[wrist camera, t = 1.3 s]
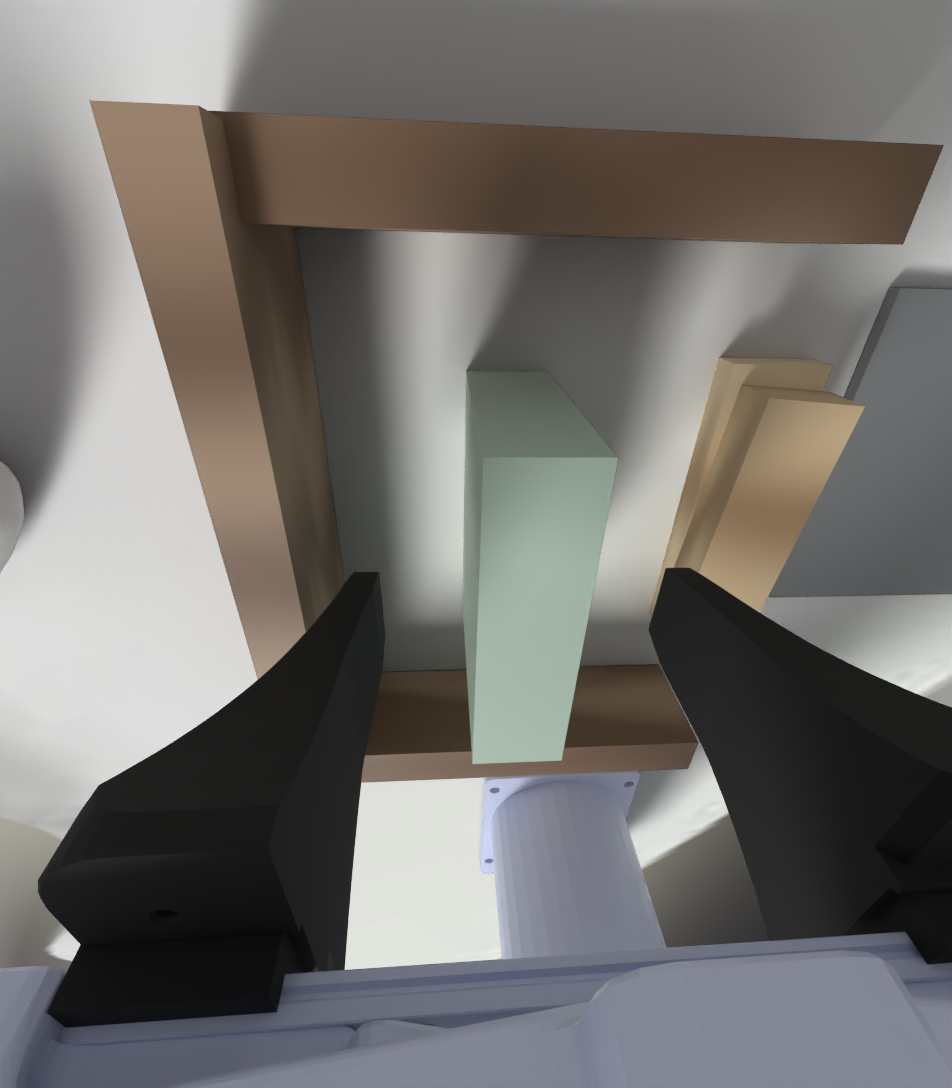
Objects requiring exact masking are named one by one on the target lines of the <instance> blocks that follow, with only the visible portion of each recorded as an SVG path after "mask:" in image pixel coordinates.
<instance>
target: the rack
mask: <svg viewBox="0 0 952 1088" xmlns="http://www.w3.org/2000/svg"><path fill="white" fill-rule="evenodd" d="M89 101H90V100H89ZM90 104H91V108H92V111H93V114H94V118H95V121H96V125H97V128H98V132H99V135H100V138H101V142H102V145H103V149H104V152H105V156H106V159H107V163H108V166H109V169H110V173H111V176H112V180H113V183H114V187H115V190H116V193H117V197H118V200H119V204H120V207H121V211H122V214H123V218H124V221H125V224H126V228H127V231H128V235H129V238H130V242H131V245H132V248H133V252H134V255H135V259H136V262H137V266H138V269H139V273H140V276H141V279H142V283H143V286H144V290H145V293H146V297H147V300H148V303H149V307H150V310H151V314H152V317H153V321H154V324H155V328H156V331H157V334H158V338H159V341H160V345H161V348H162V352H163V355H164V358H165V362H166V365H167V369H168V372H169V376H170V379H171V383H172V386H173V389H174V393H175V396H176V400H177V403H178V407H179V410H180V414H181V417H182V420H183V424H184V427H185V431H186V434H187V438H188V441H189V444H190V448H191V451H192V455H193V458H194V462H195V465H196V469H197V472H198V475H199V479H200V482H201V486H202V489H203V493H204V496H205V499H206V503H207V506H208V510H209V513H210V517H211V520H212V524H213V527H214V530H215V534H216V537H217V541H218V544H219V548H220V551H221V554H222V558H223V561H224V565H225V568H226V572H227V575H228V579H229V582H230V585H231V589H232V592H233V596H234V599H235V603H236V606H237V609H238V613H239V616H240V620H241V623H242V627H243V630H244V634H245V637H246V640H247V644H248V647H249V651H250V654H251V658H252V661H253V664H254V668H255V671H256V675H257V678H258V679H259V678H260V677H262V676H263V675H264V674H265V673H266V672H267V671H268V670H269V669H270V668H271V667H273V666H274V665H275V664H276V663H277V662H278V661H279V660H280V659H281V658H282V657H283V656H284V655H285V654H286V653H287V652H288V651H289V650H290V649H291V648H292V646H293V645H294V644H295V643H296V642H297V641H298V640H299V639H300V638H301V637H302V636H303V635H304V634H305V633H306V631H307V630H308V629H309V628H310V627H311V626H312V624H313V623H314V622H315V621H316V620H317V618H318V617H319V616H320V615H321V614H322V612H323V611H324V610H325V609H326V608H327V606H328V605H329V604H330V602H331V601H332V600H333V599H334V597H335V596H336V595H337V593H338V592H339V591H340V589H341V588H342V586H343V585H344V584H345V581H344V574H343V567H342V560H341V552H340V545H339V538H338V531H337V524H336V517H335V510H334V502H333V495H332V488H331V481H330V474H329V467H328V459H327V452H326V445H325V438H324V431H323V424H322V417H321V409H320V402H319V395H318V388H317V381H316V374H315V367H314V359H313V352H312V345H311V338H310V331H309V324H308V317H307V309H306V302H305V295H304V288H303V281H302V274H301V267H300V259H299V252H298V245H297V238H296V231H295V228H324V229H356V230H387V231H419V232H450V233H482V234H513V235H545V236H576V237H608V238H640V239H671V240H703V241H734V242H766V243H818V244H903V243H904V241H905V238H906V236H907V233H908V231H909V228H910V226H911V224H912V221H913V219H914V216H915V214H916V211H917V209H918V206H919V204H920V202H921V199H922V197H923V194H924V192H925V189H926V187H927V185H928V182H929V180H930V177H931V175H932V172H933V170H934V168H935V165H936V163H937V160H938V158H939V155H940V153H941V150H942V148H943V146H944V145H930V144H909V143H887V142H866V141H844V140H823V139H801V138H780V137H759V136H737V135H716V134H694V133H673V132H651V131H630V130H609V129H587V128H566V127H544V126H523V125H501V124H480V123H459V122H437V121H416V120H394V119H373V118H351V117H330V116H308V115H287V114H266V113H244V112H223V111H207V110H205V109H203V108H202V107H200V106H195V105H174V104H153V103H132V102H111V101H90ZM697 745H698V741H697V739H696V737H695V735H694V733H693V731H692V729H691V727H690V725H689V723H688V721H687V719H686V717H685V715H684V714H683V712H682V710H681V708H680V706H679V704H678V702H677V700H676V698H675V696H674V694H673V692H672V690H671V688H670V686H669V684H668V682H667V680H666V679H665V677H664V675H663V673H662V671H661V669H660V667H659V665H628V666H592V667H579V670H578V676H577V681H576V686H575V691H574V697H573V702H572V707H571V713H570V718H569V723H568V729H567V734H566V739H565V744H564V750H563V755H562V760H561V761H537V762H512V763H487V764H472V749H471V733H470V717H469V701H468V685H467V670H446V671H410V672H382V675H381V680H380V685H379V690H378V695H377V699H376V704H375V709H374V714H373V719H372V724H371V728H370V733H369V738H368V743H367V748H366V752H365V758H364V764H363V770H362V779H361V782H385V781H409V780H432V779H456V778H480V777H504V776H527V775H551V774H575V773H599V772H622V771H646V770H670V769H688V767H689V765H690V762H691V760H692V757H693V755H694V752H695V750H696V747H697Z"/></svg>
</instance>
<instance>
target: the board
mask: <svg viewBox="0 0 952 1088" xmlns="http://www.w3.org/2000/svg"><path fill="white" fill-rule="evenodd" d="M618 458H619V457H618V456H617V455H616V454H615V453H614V451H613V450H612V449H611V448H610V446H609V445H608V444H607V443H606V442H605V440H604V439H603V438H602V437H601V436H600V434H599V433H598V432H597V431H596V429H595V428H594V427H593V426H592V425H591V423H590V422H589V421H588V420H587V418H586V417H585V416H584V415H583V414H582V412H581V411H580V410H579V409H578V407H577V406H576V405H575V404H574V403H573V401H572V400H571V399H570V398H569V396H568V395H567V394H566V393H565V392H564V390H563V389H562V388H561V387H560V385H559V384H558V383H557V382H556V381H555V379H554V378H553V377H552V376H551V374H550V373H549V372H530V371H466V410H465V476H464V542H463V621H464V637H465V653H466V669H467V685H468V701H469V717H470V733H471V749H472V764H487V763H512V762H537V761H561V760H562V755H563V750H564V744H565V739H566V734H567V729H568V723H569V718H570V713H571V707H572V702H573V697H574V691H575V686H576V681H577V676H578V670H579V665H580V660H581V654H582V649H583V644H584V638H585V633H586V628H587V623H588V617H589V612H590V607H591V601H592V596H593V591H594V585H595V580H596V575H597V570H598V564H599V559H600V554H601V548H602V543H603V538H604V532H605V527H606V522H607V516H608V511H609V506H610V501H611V495H612V490H613V485H614V479H615V474H616V469H617V463H618Z"/></svg>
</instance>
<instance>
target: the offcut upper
mask: <svg viewBox="0 0 952 1088" xmlns="http://www.w3.org/2000/svg"><path fill="white" fill-rule="evenodd" d="M864 408H865V406H862V405H860V404H858V403H855V402H853V401H850V400H848V399H845V398H843V397H841V396H838V395H836V394H833V393H831V392H824V391H813V390H801V389H790V388H779V387H767V386H756V385H745V384H742V385H741V387H740V390H739V393H738V395H737V398H736V401H735V404H734V406H733V409H732V412H731V414H730V417H729V420H728V423H727V425H726V428H725V431H724V433H723V436H722V439H721V442H720V444H719V447H718V450H717V452H716V455H715V458H714V461H713V463H712V466H711V469H710V471H709V474H708V477H707V480H706V482H705V485H704V488H703V490H702V493H701V496H700V498H699V501H698V504H697V507H696V509H695V512H694V515H693V517H692V520H691V523H690V526H689V528H688V531H687V534H686V536H685V539H684V542H683V545H682V547H681V550H680V553H679V555H678V558H677V560H676V563H675V566H674V568H691V569H693V570H694V571H696V572H698V573H700V574H701V575H703V576H704V577H706V578H708V579H709V580H711V581H712V582H714V583H715V584H717V585H718V586H720V587H721V588H723V589H724V590H726V591H727V592H729V593H730V594H732V595H733V596H735V597H736V598H738V599H739V600H741V601H742V602H744V603H745V604H747V605H749V606H750V607H752V608H753V609H755V610H756V611H758V612H759V613H760V611H761V609H762V607H763V605H764V604H765V602H766V600H767V598H768V596H769V594H770V592H771V590H772V588H773V586H774V584H775V582H776V580H777V578H778V576H779V574H780V572H781V570H782V568H783V566H784V564H785V562H786V560H787V558H788V557H789V555H790V553H791V551H792V549H793V547H794V545H795V543H796V541H797V539H798V537H799V535H800V533H801V531H802V529H803V527H804V525H805V523H806V521H807V519H808V517H809V515H810V513H811V511H812V510H813V508H814V506H815V504H816V502H817V500H818V498H819V496H820V494H821V492H822V490H823V488H824V486H825V484H826V482H827V480H828V478H829V476H830V474H831V472H832V470H833V468H834V466H835V464H836V463H837V461H838V459H839V457H840V455H841V453H842V451H843V449H844V447H845V445H846V443H847V441H848V439H849V437H850V435H851V433H852V431H853V429H854V427H855V425H856V423H857V421H858V419H859V417H860V416H861V414H862V412H863V410H864Z"/></svg>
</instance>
